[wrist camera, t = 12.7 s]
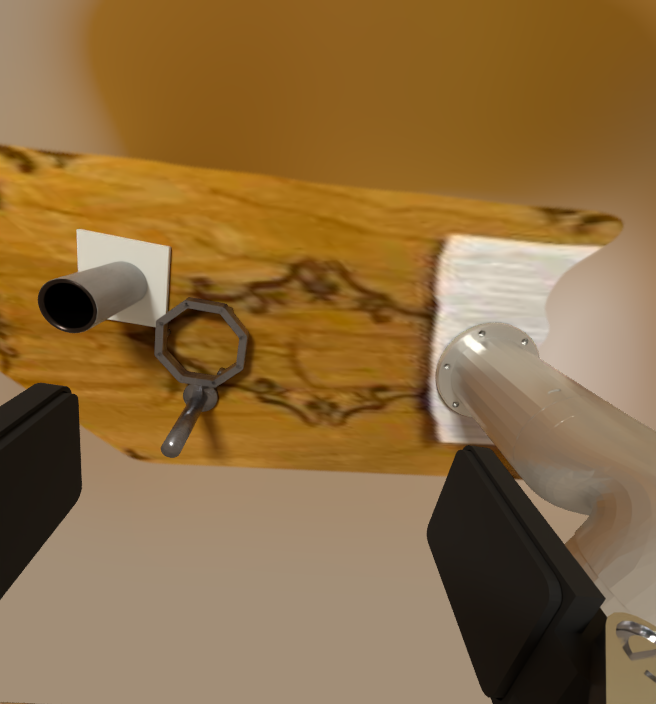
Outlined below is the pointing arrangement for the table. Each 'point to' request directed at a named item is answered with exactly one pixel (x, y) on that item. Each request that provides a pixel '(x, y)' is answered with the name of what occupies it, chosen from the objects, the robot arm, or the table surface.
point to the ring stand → (201, 386)
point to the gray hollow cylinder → (91, 295)
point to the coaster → (142, 254)
